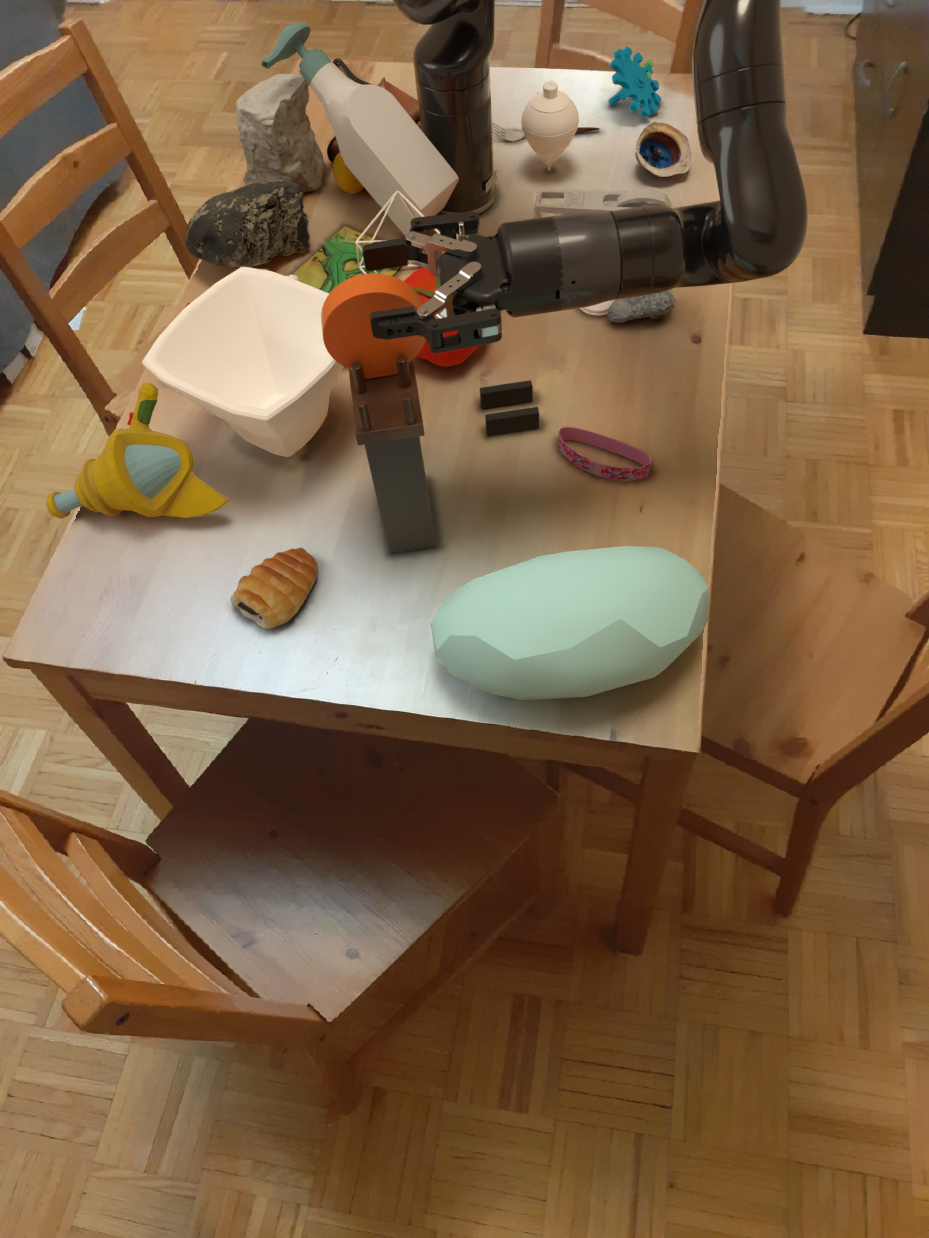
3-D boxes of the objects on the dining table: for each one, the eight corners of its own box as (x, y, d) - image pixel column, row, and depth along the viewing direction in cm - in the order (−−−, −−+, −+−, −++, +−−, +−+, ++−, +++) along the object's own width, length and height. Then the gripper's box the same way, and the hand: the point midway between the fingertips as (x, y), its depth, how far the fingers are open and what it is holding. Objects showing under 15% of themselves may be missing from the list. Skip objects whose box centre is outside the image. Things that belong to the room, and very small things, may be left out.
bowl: (302, 518, 101) (271, 430, 89) (169, 452, 107) (124, 362, 95) (397, 406, 109) (381, 312, 97) (269, 351, 115) (238, 255, 103)
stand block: (426, 481, 103) (407, 359, 88) (436, 547, 98) (418, 430, 83) (381, 488, 103) (355, 367, 87) (389, 554, 98) (362, 438, 83)
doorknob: (391, 201, 127) (400, 177, 132) (369, 143, 122) (379, 119, 127) (342, 216, 129) (352, 191, 135) (318, 159, 124) (329, 136, 129)
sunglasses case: (380, 173, 131) (352, 130, 127) (347, 188, 136) (318, 147, 132) (432, 103, 139) (407, 60, 135) (398, 120, 144) (373, 79, 140)
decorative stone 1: (284, 155, 136) (260, 52, 123) (336, 172, 133) (317, 69, 121) (242, 195, 132) (213, 94, 119) (295, 214, 129) (271, 112, 116)
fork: (599, 137, 134) (600, 124, 132) (489, 143, 135) (488, 130, 133) (598, 127, 135) (599, 113, 133) (489, 133, 136) (488, 119, 134)
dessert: (637, 115, 125) (624, 160, 130) (645, 136, 121) (631, 181, 125) (693, 126, 127) (678, 169, 131) (703, 147, 122) (687, 191, 127)
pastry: (287, 546, 100) (279, 525, 96) (336, 575, 97) (329, 554, 94) (228, 609, 96) (218, 589, 93) (277, 640, 94) (268, 621, 90)
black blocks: (531, 395, 109) (531, 379, 106) (539, 428, 106) (539, 413, 104) (480, 403, 108) (479, 387, 106) (487, 436, 106) (486, 420, 104)
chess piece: (614, 317, 114) (621, 248, 106) (574, 314, 115) (578, 245, 107) (619, 290, 117) (626, 220, 108) (580, 287, 118) (584, 217, 109)
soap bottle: (398, 248, 125) (254, 77, 119) (443, 209, 126) (302, 37, 120) (411, 221, 114) (254, 31, 109) (459, 178, 115) (306, -13, 109)
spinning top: (586, 163, 131) (590, 77, 120) (559, 193, 128) (561, 107, 117) (539, 148, 133) (539, 63, 123) (511, 178, 130) (509, 92, 120)
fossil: (603, 312, 116) (613, 339, 113) (601, 290, 113) (611, 317, 110) (669, 295, 115) (680, 322, 113) (669, 272, 112) (680, 300, 110)
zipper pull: (538, 200, 127) (538, 171, 123) (671, 205, 125) (676, 175, 121) (532, 238, 123) (532, 209, 120) (669, 243, 121) (674, 213, 117)
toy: (-10, 440, 96) (53, 573, 100) (149, 371, 91) (211, 513, 94) (46, 431, 106) (103, 553, 109) (194, 368, 101) (249, 498, 104)
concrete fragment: (239, 193, 130) (192, 285, 128) (206, 139, 120) (155, 238, 118) (329, 219, 126) (283, 314, 124) (303, 166, 116) (252, 268, 114)
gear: (647, 123, 132) (607, 59, 128) (616, 146, 136) (577, 84, 133) (675, 93, 138) (638, 31, 134) (645, 116, 142) (608, 56, 139)
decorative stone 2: (675, 766, 88) (766, 633, 78) (423, 725, 82) (487, 573, 72) (640, 665, 99) (716, 536, 89) (416, 621, 93) (471, 477, 83)
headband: (548, 459, 103) (548, 445, 102) (562, 435, 105) (563, 421, 103) (639, 491, 100) (642, 477, 98) (653, 466, 102) (655, 452, 100)
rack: (412, 353, 88) (406, 316, 84) (424, 436, 82) (419, 399, 79) (349, 362, 88) (340, 325, 84) (357, 445, 82) (349, 410, 79)
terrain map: (344, 224, 126) (344, 227, 127) (288, 276, 122) (289, 279, 122) (413, 252, 122) (413, 255, 123) (358, 307, 118) (359, 310, 118)
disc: (428, 351, 86) (418, 266, 78) (432, 369, 84) (421, 284, 76) (332, 365, 85) (311, 281, 77) (334, 384, 84) (312, 300, 76)
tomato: (388, 314, 117) (379, 257, 110) (486, 303, 117) (483, 245, 110) (393, 387, 110) (383, 331, 103) (497, 375, 110) (495, 318, 103)
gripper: (543, 172, 78) (353, 199, 78) (576, 283, 71) (366, 313, 71) (542, 248, 85) (367, 273, 85) (573, 357, 77) (380, 385, 77)
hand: (367, 291), depth 78 cm, fingers open, 8 cm apart
